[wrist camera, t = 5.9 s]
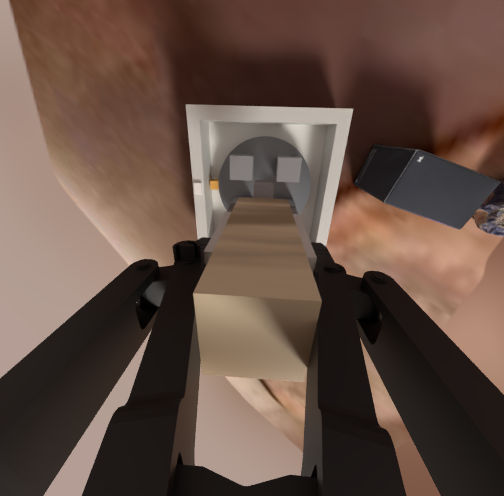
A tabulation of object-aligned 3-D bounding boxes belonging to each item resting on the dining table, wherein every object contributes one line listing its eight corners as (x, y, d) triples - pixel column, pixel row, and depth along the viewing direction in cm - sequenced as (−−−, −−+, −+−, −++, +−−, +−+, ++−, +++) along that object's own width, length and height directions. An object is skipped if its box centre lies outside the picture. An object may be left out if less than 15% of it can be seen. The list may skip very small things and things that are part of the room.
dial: (210, 134, 30) (200, 133, 26) (314, 137, 30) (324, 137, 25) (215, 223, 36) (207, 236, 31) (302, 227, 36) (307, 242, 31)
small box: (350, 186, 35) (381, 204, 25) (373, 142, 32) (417, 145, 22) (410, 207, 36) (461, 233, 26) (437, 167, 33) (506, 179, 23)
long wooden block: (230, 179, 20) (156, 263, 7) (297, 181, 20) (363, 275, 6) (231, 239, 23) (180, 387, 9) (290, 242, 22) (325, 399, 9)
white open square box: (200, 110, 31) (184, 103, 25) (336, 114, 30) (354, 108, 24) (208, 234, 40) (198, 251, 34) (315, 239, 39) (324, 258, 33)
